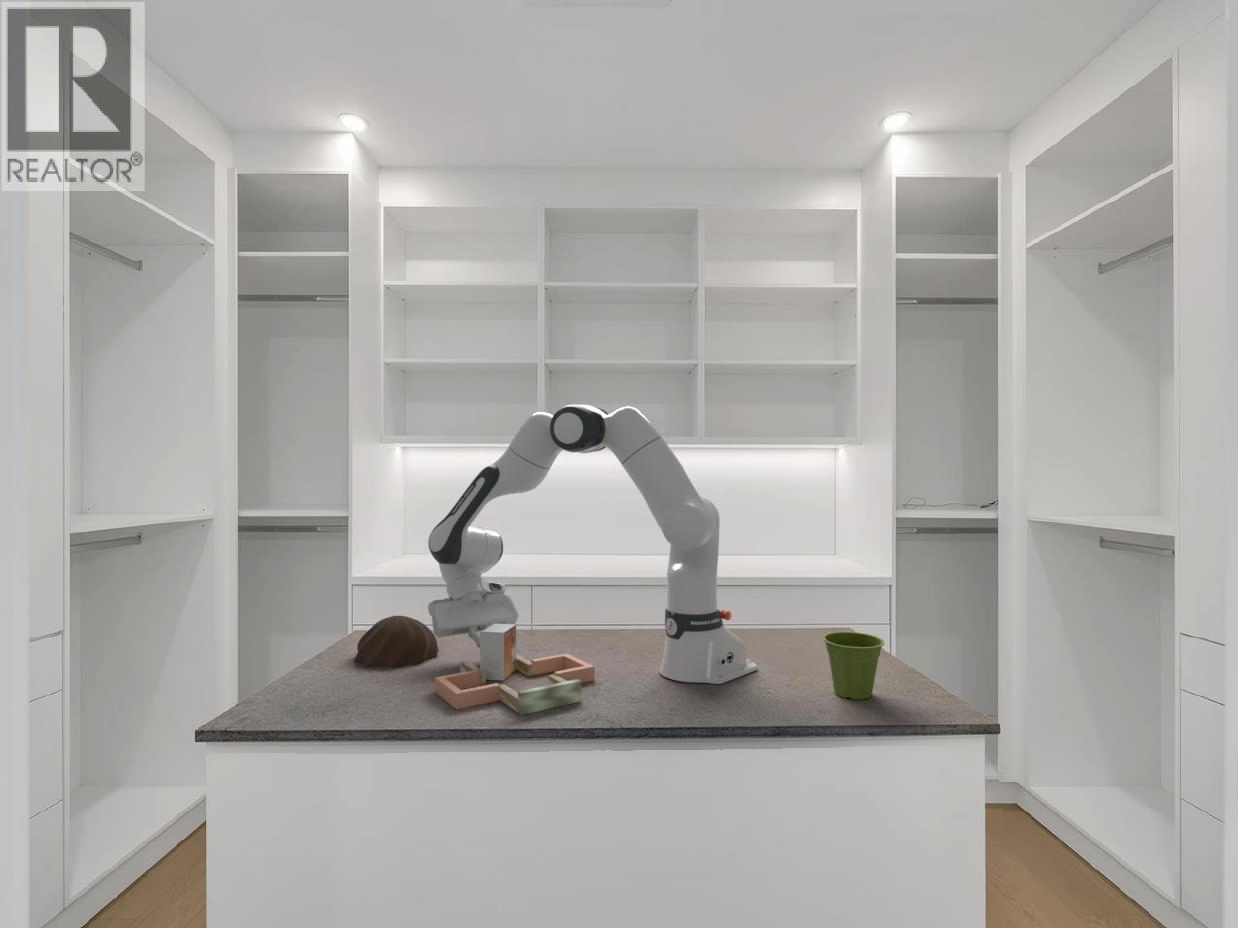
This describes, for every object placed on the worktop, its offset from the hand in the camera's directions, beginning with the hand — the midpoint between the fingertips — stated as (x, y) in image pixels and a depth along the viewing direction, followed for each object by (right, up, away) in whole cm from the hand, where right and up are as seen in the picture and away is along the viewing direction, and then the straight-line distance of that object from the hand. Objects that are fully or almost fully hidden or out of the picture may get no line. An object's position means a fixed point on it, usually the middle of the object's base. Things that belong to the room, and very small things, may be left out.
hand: (484, 645), depth 161 cm
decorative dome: (-23, -5, +8) cm, 25 cm away
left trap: (+1, -5, -20) cm, 20 cm away
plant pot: (+78, -5, -19) cm, 81 cm away
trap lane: (+9, -5, -13) cm, 17 cm away
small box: (+4, -5, -6) cm, 9 cm away
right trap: (+18, -5, -8) cm, 20 cm away
